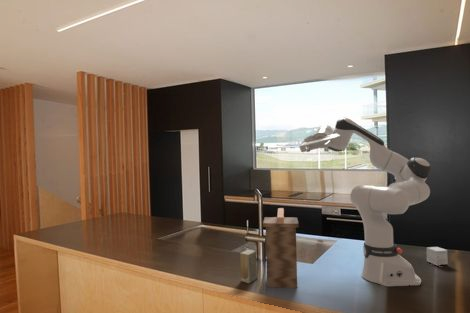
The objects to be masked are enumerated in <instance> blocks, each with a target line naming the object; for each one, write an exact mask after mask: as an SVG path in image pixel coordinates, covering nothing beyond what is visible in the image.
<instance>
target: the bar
mask: <svg viewBox="0 0 470 313" xmlns="http://www.w3.org/2000/svg"><path fill="white" fill-rule="evenodd" d="M284 214H285V209H284V207H279V208H277V216H276V217H277V224H284V217H285V215H284Z"/></svg>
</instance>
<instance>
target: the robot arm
mask: <svg viewBox="0 0 470 313" xmlns="http://www.w3.org/2000/svg"><path fill="white" fill-rule="evenodd" d="M354 134H355V135H356V136H359V138H362V139H363V140H365V141H366V142H368V144H369V160H370V163H371V165H372V166H374V167H375V168H376V169H379V170H381V171H383V172H387V174H392V175H393V176H394V178H395V179H392V180H391V182H392V183H390V184H389V185H388V186H381V185H371V184H362V185H361V184H360V185H357V186H354V187H353V188H352V190H351V192H350V195H349V196H350V201H351V204H352V205H353V206H354V207H355V208H356V209H357V211H358V213H359V215H360V217H361V219H362V224H363V231H364V243H363V256H364V258H363V260H364V261H363V267H362V271H361V277H362V278H363V279H364V280H366V281H368V282H372V283H375V284H379V285H381V286H384V287H406V286H407V287H409V285H410V286H421V285H422V284H421V282H422V279H421V278H420V276H418V275H417V274H416V272H415V269H414V267H413V265H412V264H411V263H410V262H409V261H408V260H406V259H405V258H404V257H402V256H401V255H400V254H402V253H403V249H402V248H400V247H398V246H396V245H395V244H394V227H393V225H392V224H391V223H390V222H389V221H388V220H386V218H385V216H384V214H386V215H402V214H404V213H405V212H407V210H408V209H409V207H410V206H413V205H417V204H419V203H422V202H424V201H426V200H427V199H429V197H430V194H431V189H430V186H429V185H428V184H427V183H426V180H427V179H428V178H429V177H430V175H431V171H432V165H431V162H430V161H428V160H427V159H424V158H422V157H419V156H415V157H411V158H410V159H408V158H407V157H405V156H403V155H401V154H400V153H398V152H395V151H393V150H391V149H390V148H388V147H387V146H386V145H385V142H384V140H383V139H382V138H380V137H379V136H377V135H375V134H374V133H372V132H371V131H369V130H367V129H366V128H364V127H362V126H361V125H359V124H358V123H356V122H355V121H353V119H351V118H348V117H342V118H340V119H338V120H336V123H335V125H334V129H333V127H331V125H326V124H325V125H321V126H320V127H319V128H318V129H317V130H316V132H315V133H313V134H310V135H309V136H307V137H304V139H303V141H301V142H300V144H299V146H298V147H299V150H300V152H301V153H305V152H306V153H308V152H309V153H310V152H311V151H314V150H317V149H324V148H325V149H326V148H327V149H328V150H331V151H333V152H343V151H346V149H347V147H348V145H349V142H350V140H351V138H352V136H353V135H354ZM420 284H421V285H420Z"/></svg>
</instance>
